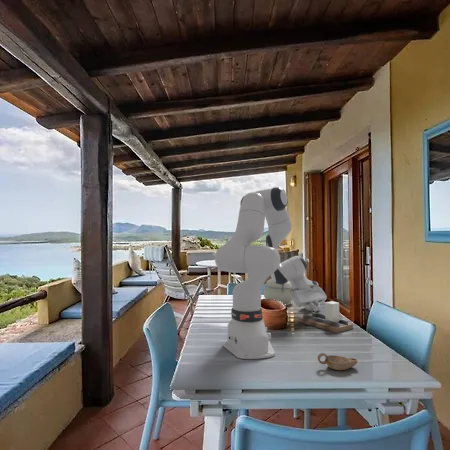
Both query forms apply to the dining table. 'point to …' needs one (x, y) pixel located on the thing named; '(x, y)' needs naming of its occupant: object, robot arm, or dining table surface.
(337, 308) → the switch knob
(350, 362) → the oil lamp
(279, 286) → the kettle
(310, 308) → the lidded jar
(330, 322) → the switch housing
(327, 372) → the dining table surface
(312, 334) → the dining table surface
